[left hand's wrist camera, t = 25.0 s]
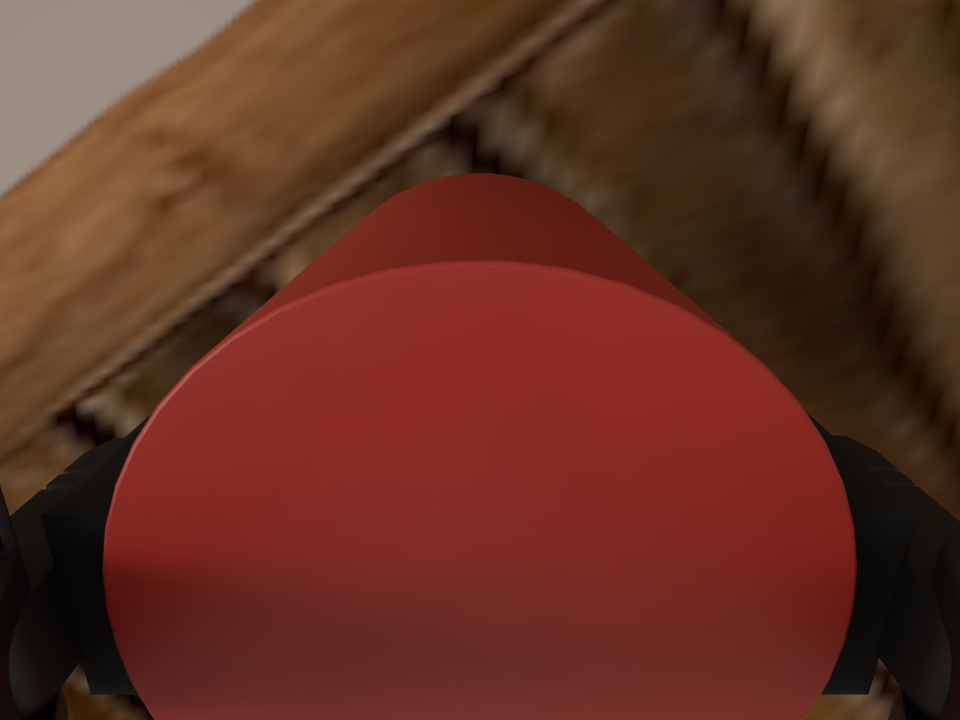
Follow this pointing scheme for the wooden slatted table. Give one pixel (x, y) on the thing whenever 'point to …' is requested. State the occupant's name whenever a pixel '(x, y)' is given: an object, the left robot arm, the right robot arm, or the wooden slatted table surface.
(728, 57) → the wooden slatted table surface
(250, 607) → the can
